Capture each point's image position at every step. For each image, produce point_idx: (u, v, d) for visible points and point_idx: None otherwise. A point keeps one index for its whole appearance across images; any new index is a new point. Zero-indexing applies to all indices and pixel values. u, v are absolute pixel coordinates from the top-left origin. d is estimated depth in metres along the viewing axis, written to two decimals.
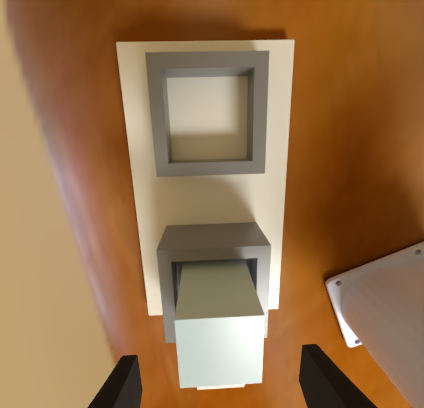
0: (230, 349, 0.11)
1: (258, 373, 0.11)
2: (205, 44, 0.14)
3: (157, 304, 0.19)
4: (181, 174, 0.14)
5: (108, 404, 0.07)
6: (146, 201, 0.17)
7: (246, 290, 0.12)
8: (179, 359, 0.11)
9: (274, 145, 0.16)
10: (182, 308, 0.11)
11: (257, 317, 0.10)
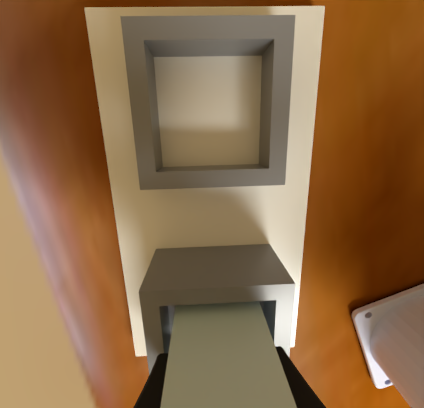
0: None
1: None
2: (205, 11, 0.11)
3: None
4: (173, 186, 0.11)
5: (156, 401, 0.08)
6: (129, 219, 0.13)
7: (265, 356, 0.08)
8: None
9: (294, 147, 0.13)
10: (171, 394, 0.07)
11: None
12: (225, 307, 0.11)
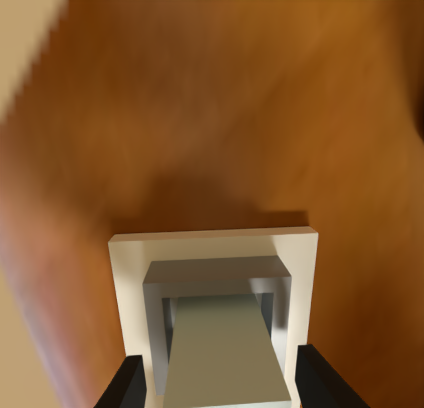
0: None
1: None
2: (213, 241, 0.12)
3: None
4: None
5: (114, 404, 0.07)
6: None
7: (261, 350, 0.09)
8: None
9: (292, 331, 0.14)
10: (174, 385, 0.08)
11: (281, 403, 0.07)
12: (224, 305, 0.11)
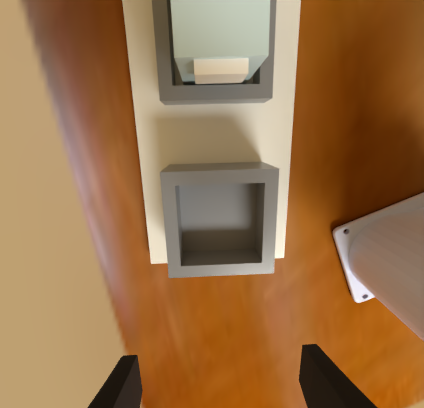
0: None
1: (264, 38, 0.10)
2: None
3: (160, 251, 0.19)
4: (185, 98, 0.14)
5: (108, 404, 0.07)
6: (148, 137, 0.16)
7: None
8: (173, 7, 0.09)
9: (281, 76, 0.16)
10: None
11: None
12: None
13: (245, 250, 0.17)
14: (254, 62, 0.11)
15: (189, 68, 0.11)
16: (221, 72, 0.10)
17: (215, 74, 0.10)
